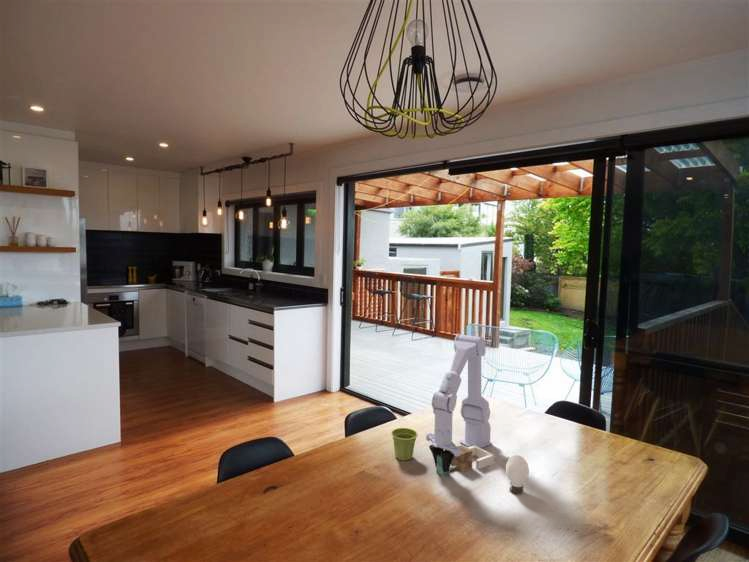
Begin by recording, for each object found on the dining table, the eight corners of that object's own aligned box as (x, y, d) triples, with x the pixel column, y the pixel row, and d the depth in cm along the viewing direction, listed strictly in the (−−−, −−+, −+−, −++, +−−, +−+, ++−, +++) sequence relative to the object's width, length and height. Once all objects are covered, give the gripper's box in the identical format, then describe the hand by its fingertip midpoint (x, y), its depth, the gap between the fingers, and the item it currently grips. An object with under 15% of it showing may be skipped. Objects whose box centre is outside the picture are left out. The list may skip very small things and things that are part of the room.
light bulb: (512, 497, 131) (513, 462, 131) (501, 485, 138) (502, 452, 137) (532, 495, 133) (533, 460, 132) (520, 483, 139) (521, 450, 139)
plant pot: (417, 451, 161) (417, 428, 160) (417, 464, 151) (417, 439, 151) (391, 450, 162) (392, 427, 161) (390, 462, 152) (390, 438, 152)
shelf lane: (474, 453, 160) (475, 445, 160) (494, 463, 152) (494, 455, 152) (459, 458, 156) (459, 450, 155) (478, 469, 148) (478, 460, 148)
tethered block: (461, 461, 153) (461, 444, 153) (472, 467, 149) (472, 450, 149) (434, 471, 147) (434, 453, 146) (444, 477, 142) (445, 460, 142)
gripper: (419, 423, 148) (418, 462, 149) (449, 439, 136) (448, 482, 137) (435, 419, 152) (434, 457, 153) (466, 434, 140) (464, 475, 141)
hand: (442, 468), depth 145 cm, fingers closed on tethered block, 3 cm apart
